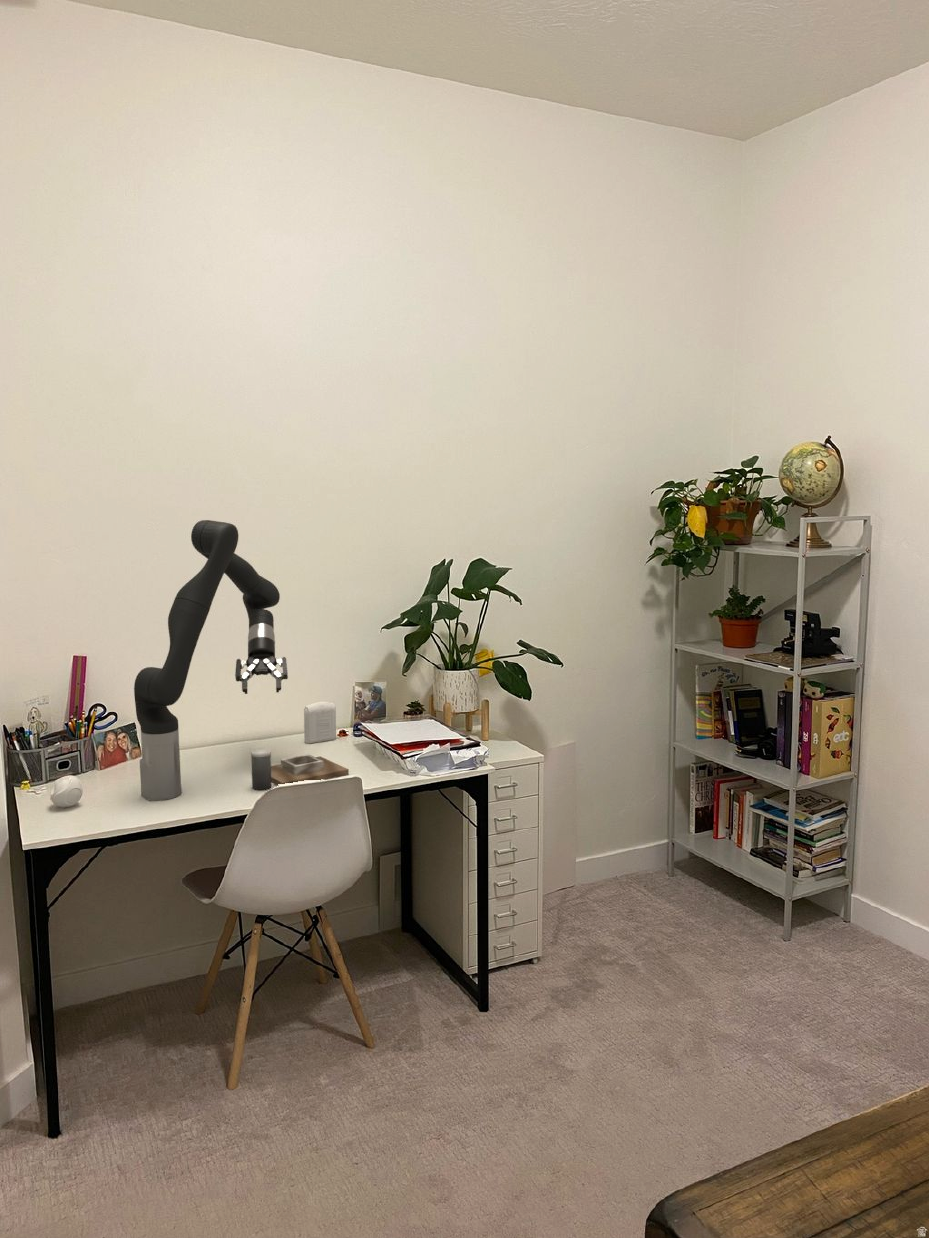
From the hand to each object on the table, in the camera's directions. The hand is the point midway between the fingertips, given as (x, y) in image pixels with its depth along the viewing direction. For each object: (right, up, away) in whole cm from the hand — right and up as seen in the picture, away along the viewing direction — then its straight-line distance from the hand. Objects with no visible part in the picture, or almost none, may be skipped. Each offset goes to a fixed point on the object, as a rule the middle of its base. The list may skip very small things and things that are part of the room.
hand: (261, 691), depth 263 cm
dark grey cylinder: (+2, -25, -11) cm, 27 cm away
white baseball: (-43, -27, -25) cm, 57 cm away
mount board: (+11, -23, +1) cm, 25 cm away
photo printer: (+11, -18, +36) cm, 41 cm away
